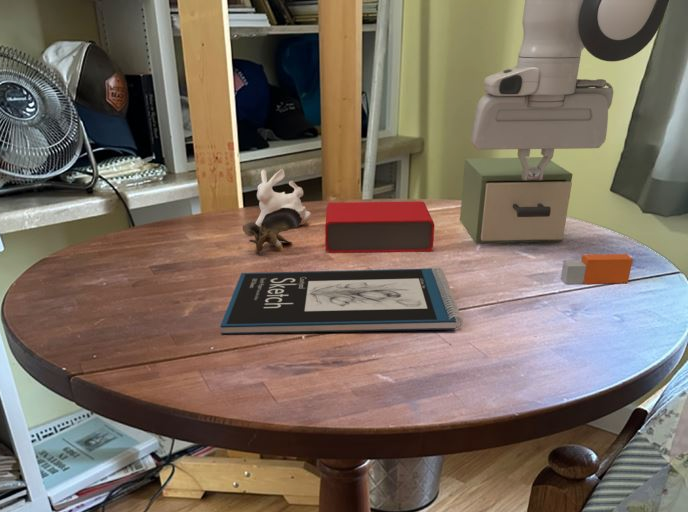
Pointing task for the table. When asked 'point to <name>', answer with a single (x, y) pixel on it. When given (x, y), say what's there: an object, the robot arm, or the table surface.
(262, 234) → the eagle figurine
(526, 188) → the drawer
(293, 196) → the rabbit figurine
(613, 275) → the orange and grey block
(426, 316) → the sketchbook
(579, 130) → the robot arm
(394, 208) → the red device housing
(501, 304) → the table surface
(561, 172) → the cabinet
